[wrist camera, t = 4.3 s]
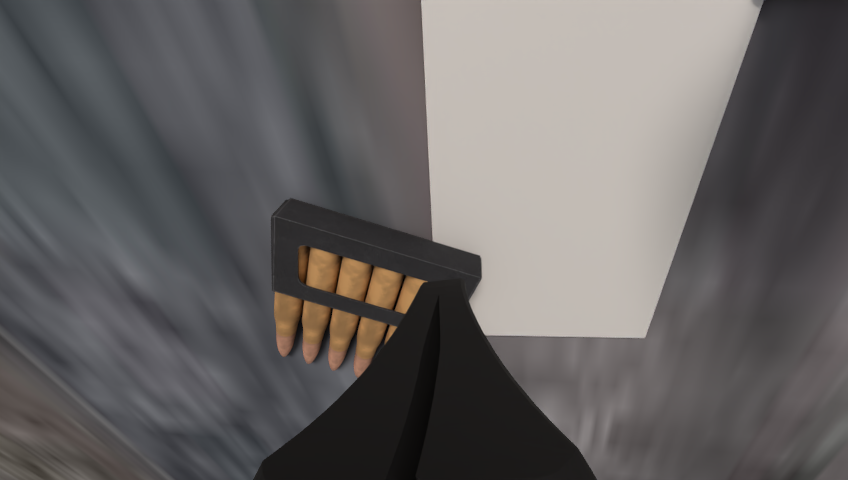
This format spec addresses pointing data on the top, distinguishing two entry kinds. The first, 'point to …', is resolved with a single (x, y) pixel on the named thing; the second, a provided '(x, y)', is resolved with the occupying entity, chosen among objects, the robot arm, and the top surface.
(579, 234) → the mat
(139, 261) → the top surface
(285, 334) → the ammunition clip
